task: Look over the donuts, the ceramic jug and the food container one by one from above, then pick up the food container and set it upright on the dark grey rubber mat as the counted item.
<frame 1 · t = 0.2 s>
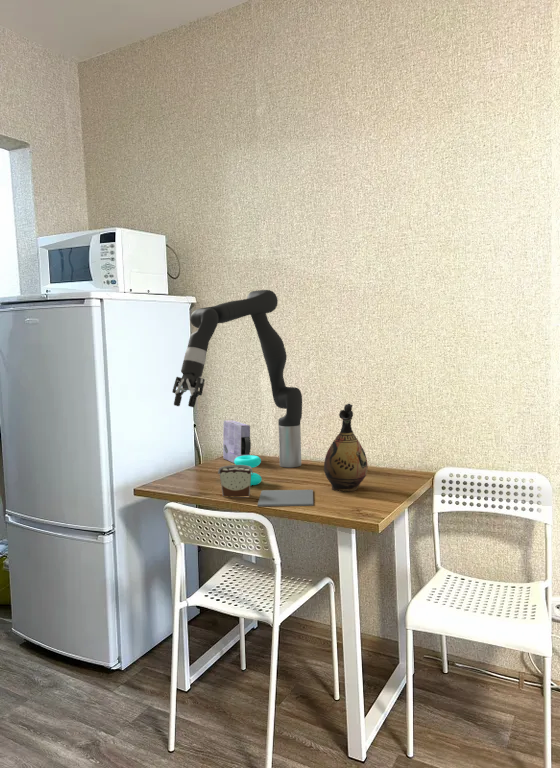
hand: (183, 406, 213), 31 cm above the table, tool tilted 20°, fingers open, 8 cm apart
food container: (238, 495, 212), on the table
cake pan box: (237, 462, 267), on the table
ceramic jug: (346, 488, 217), on the table
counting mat: (286, 498, 205), on the table
donuts: (248, 484, 227), on the table
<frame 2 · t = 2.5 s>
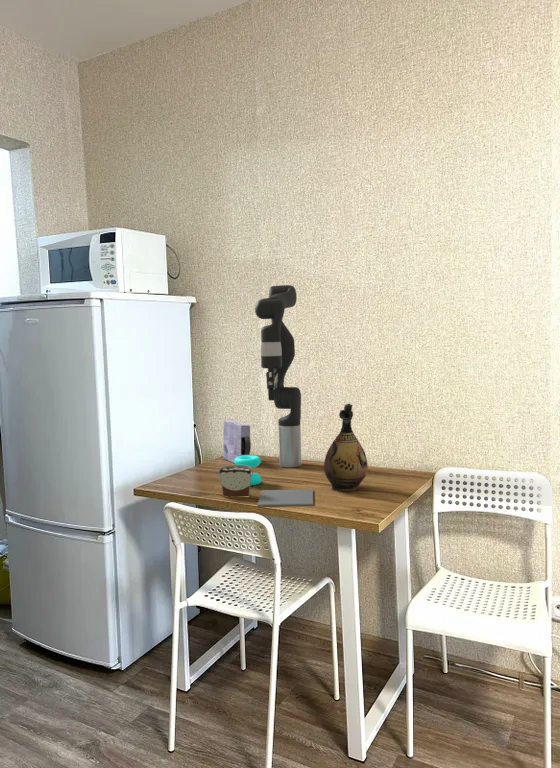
hand: (272, 399, 222), 32 cm above the table, tool pointing down, fingers open, 8 cm apart
nothing on the table moved.
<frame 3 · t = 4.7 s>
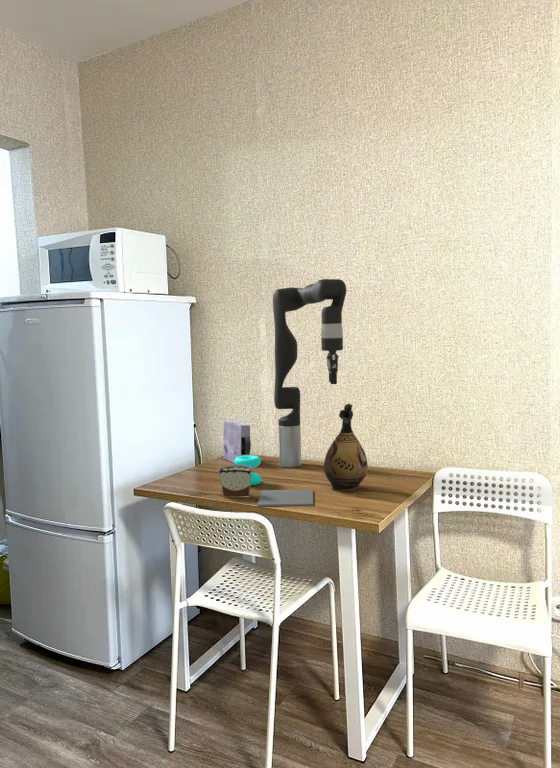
hand: (332, 383, 213), 38 cm above the table, tool pointing down, fingers open, 8 cm apart
nothing on the table moved.
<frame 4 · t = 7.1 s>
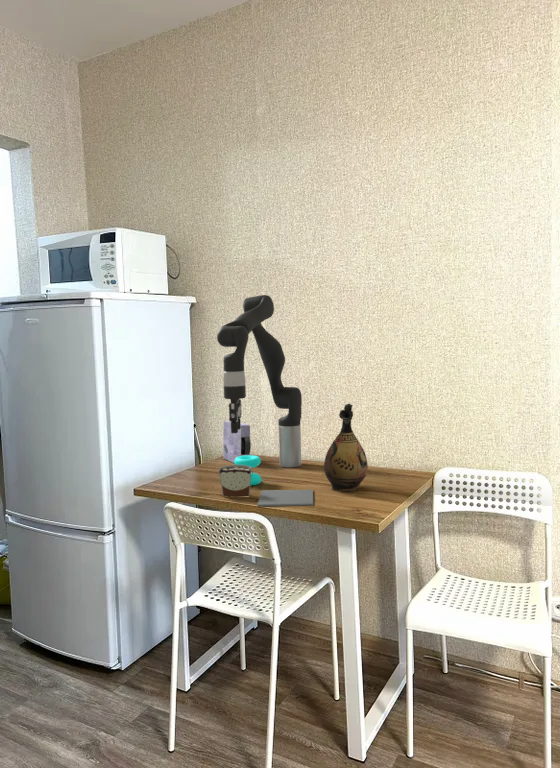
hand: (236, 431, 210), 22 cm above the table, tool pointing down, fingers open, 8 cm apart
nothing on the table moved.
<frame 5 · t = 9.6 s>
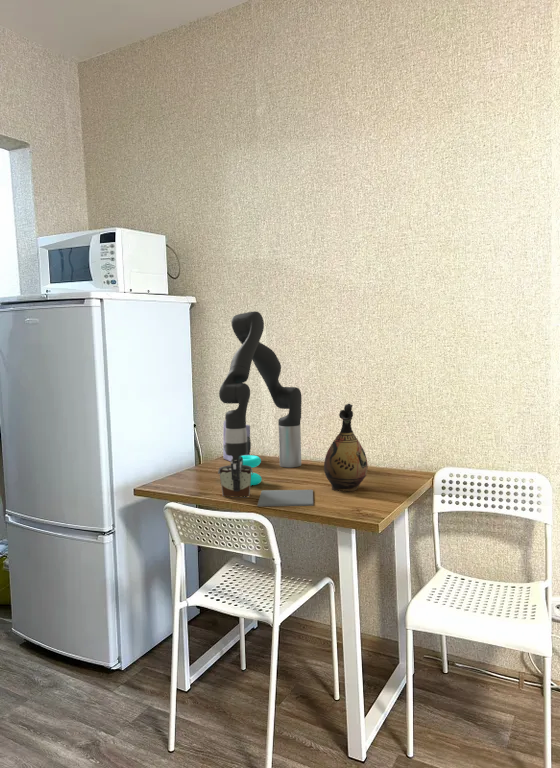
hand: (237, 488, 211), 2 cm above the table, tool pointing down, fingers closed on food container, 5 cm apart
food container: (238, 495, 212), on the table, touching gripper
everything else where it was.
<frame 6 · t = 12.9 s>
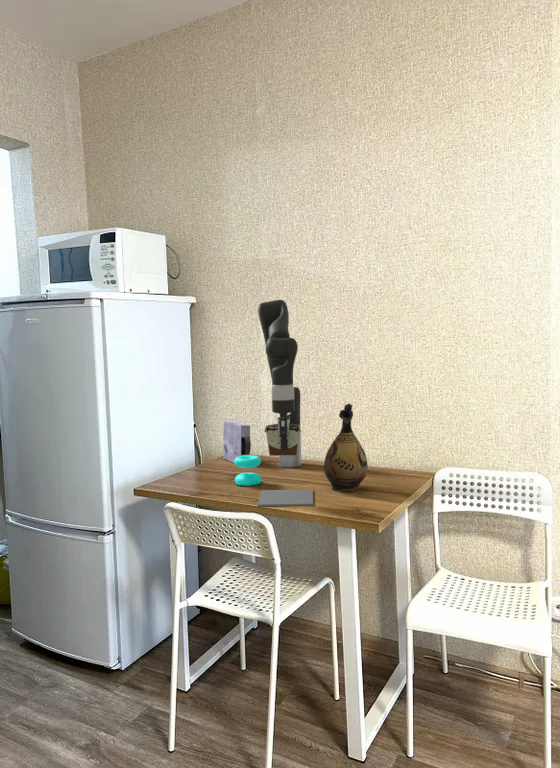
hand: (284, 448, 204), 17 cm above the table, tool pointing down, fingers closed on food container, 5 cm apart
food container: (284, 454, 204), point 15 cm above the table, touching gripper
everything else where it was.
when the fingers open (4 cm above the table, at t = 16.2 s): food container moves 1 cm, resting on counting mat.
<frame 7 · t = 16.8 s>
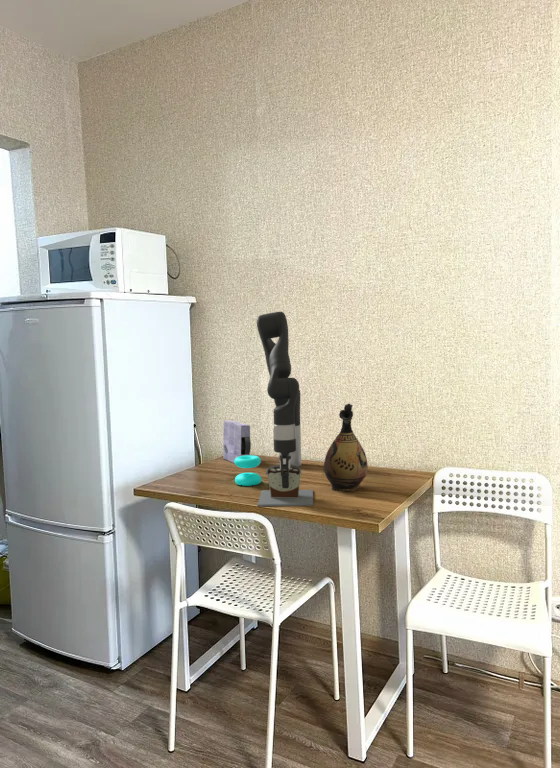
hand: (286, 484, 205), 5 cm above the table, tool pointing down, fingers open, 8 cm apart
food container: (286, 495, 206), point 1 cm above the table, touching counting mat
everything else where it was.
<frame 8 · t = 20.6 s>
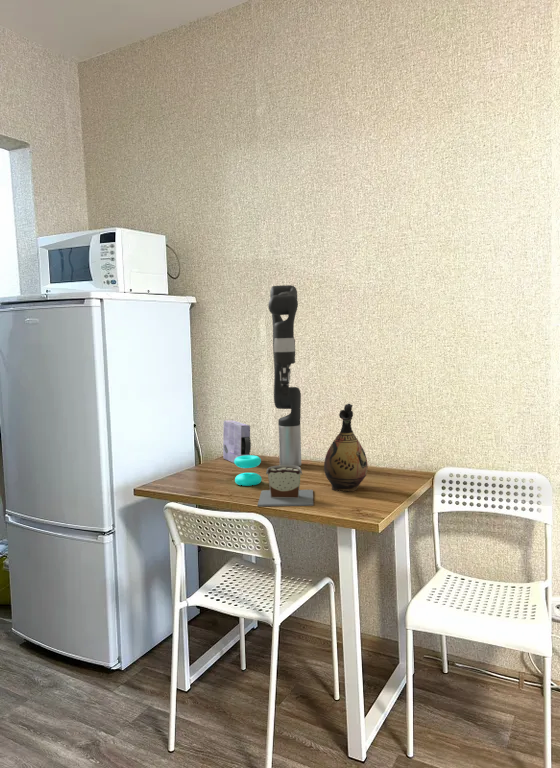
hand: (285, 395, 222), 33 cm above the table, tool pointing down, fingers open, 8 cm apart
nothing on the table moved.
at the end: food container inside the target area on the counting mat (1.4 cm from its centre), point 0.4 cm above the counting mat's base; food container tilted 0°; the gripper is holding nothing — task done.
